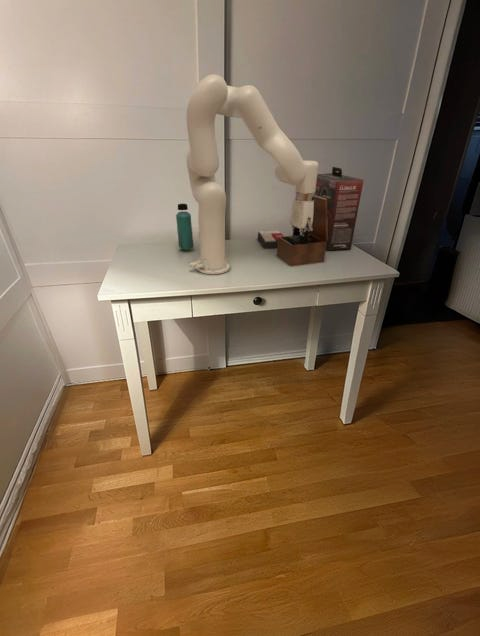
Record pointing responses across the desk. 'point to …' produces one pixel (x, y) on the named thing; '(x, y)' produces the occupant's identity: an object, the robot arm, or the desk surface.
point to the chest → (301, 251)
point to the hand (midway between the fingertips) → (299, 243)
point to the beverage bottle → (184, 228)
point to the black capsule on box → (297, 240)
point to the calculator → (269, 238)
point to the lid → (320, 217)
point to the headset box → (340, 206)
